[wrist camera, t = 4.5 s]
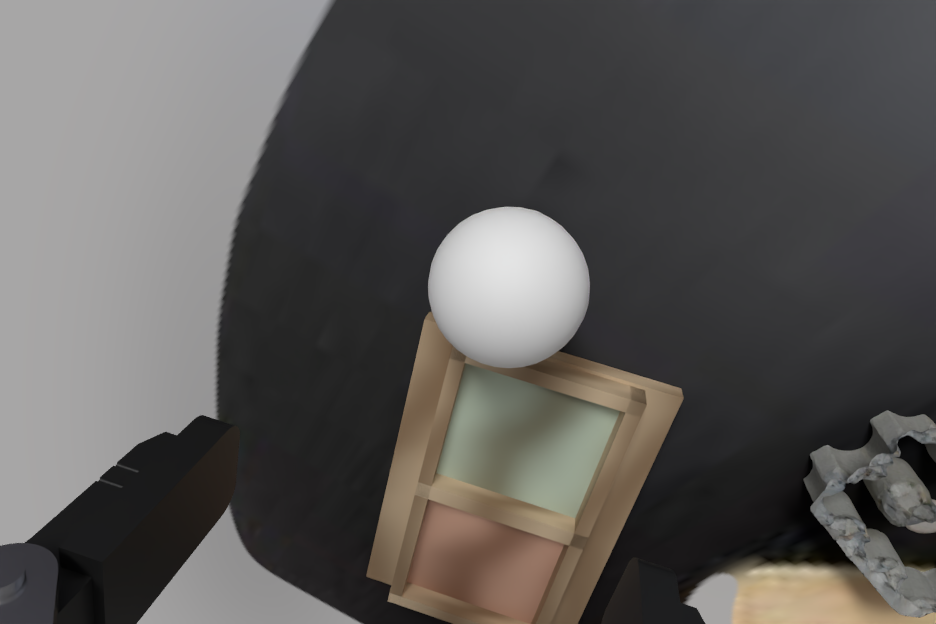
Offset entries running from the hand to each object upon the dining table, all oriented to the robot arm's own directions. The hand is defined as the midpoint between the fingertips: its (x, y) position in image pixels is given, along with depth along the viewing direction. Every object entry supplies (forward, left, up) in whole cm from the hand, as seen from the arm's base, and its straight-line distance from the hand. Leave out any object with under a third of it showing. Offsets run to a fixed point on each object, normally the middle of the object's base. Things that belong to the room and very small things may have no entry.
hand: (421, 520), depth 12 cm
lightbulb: (0, 0, -21) cm, 21 cm away
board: (-3, +16, -21) cm, 26 cm away
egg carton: (-23, +8, -21) cm, 32 cm away
